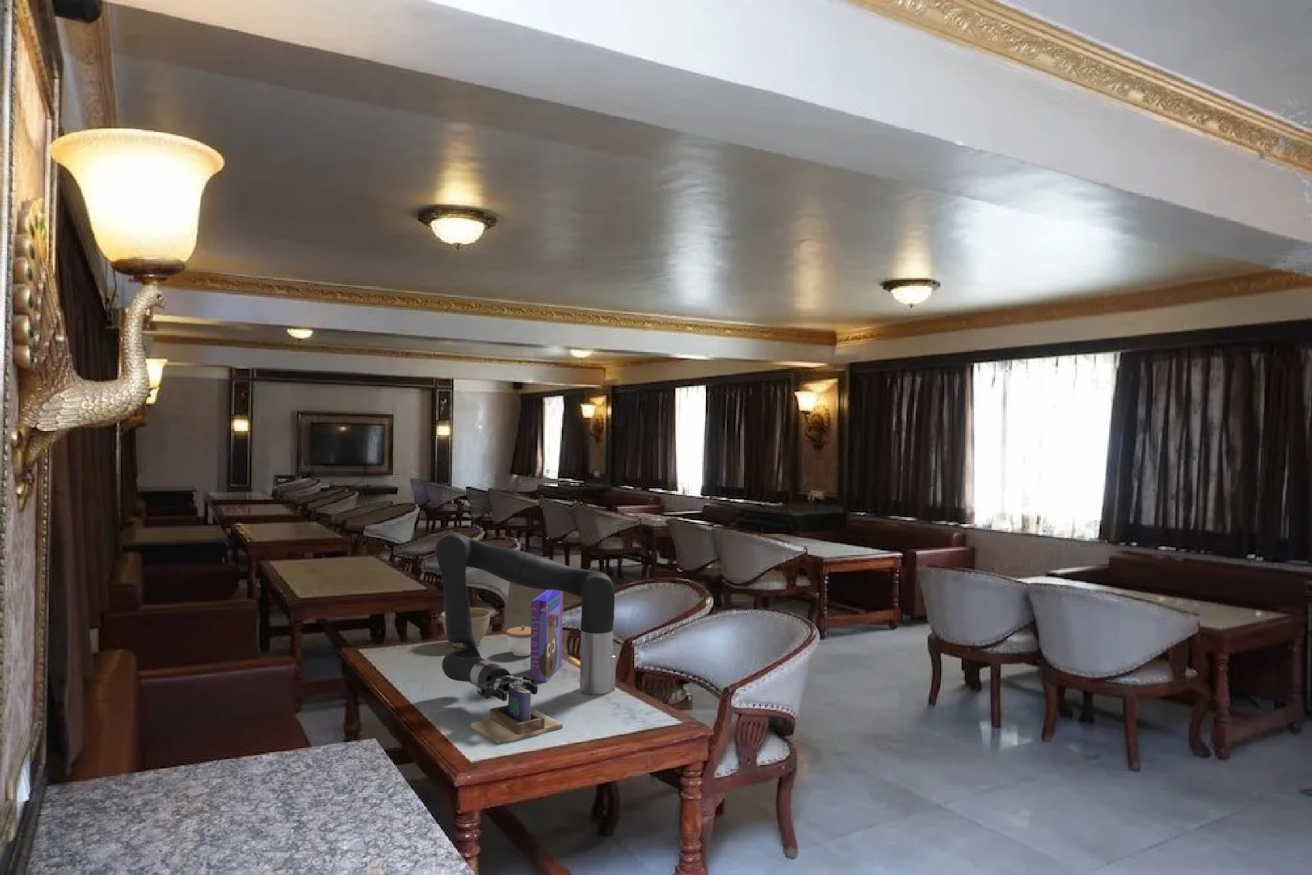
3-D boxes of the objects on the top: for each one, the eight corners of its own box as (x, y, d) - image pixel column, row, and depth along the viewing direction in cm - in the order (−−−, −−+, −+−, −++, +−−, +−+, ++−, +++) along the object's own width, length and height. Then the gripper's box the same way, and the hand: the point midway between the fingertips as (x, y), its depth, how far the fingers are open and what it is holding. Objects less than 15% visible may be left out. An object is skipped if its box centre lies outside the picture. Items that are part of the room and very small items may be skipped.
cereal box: (545, 682, 251) (547, 600, 250) (530, 681, 251) (531, 599, 251) (561, 665, 268) (562, 589, 267) (547, 664, 269) (548, 588, 268)
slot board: (533, 712, 225) (533, 699, 225) (562, 727, 214) (562, 714, 214) (470, 726, 213) (471, 713, 213) (498, 744, 202) (498, 729, 202)
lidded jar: (542, 656, 278) (543, 627, 277) (509, 659, 274) (510, 630, 274) (534, 648, 288) (535, 620, 287) (503, 651, 284) (503, 622, 283)
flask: (532, 727, 211) (532, 684, 211) (521, 730, 209) (522, 686, 209) (514, 717, 218) (514, 675, 218) (504, 719, 216) (504, 677, 216)
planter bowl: (439, 640, 296) (440, 609, 296) (487, 637, 301) (487, 606, 301) (442, 652, 281) (443, 619, 280) (492, 649, 286) (493, 616, 285)
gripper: (465, 667, 220) (495, 683, 207) (514, 658, 229) (546, 673, 216) (464, 696, 220) (495, 714, 207) (513, 686, 229) (545, 703, 216)
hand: (521, 693), depth 212 cm, fingers open, 8 cm apart
